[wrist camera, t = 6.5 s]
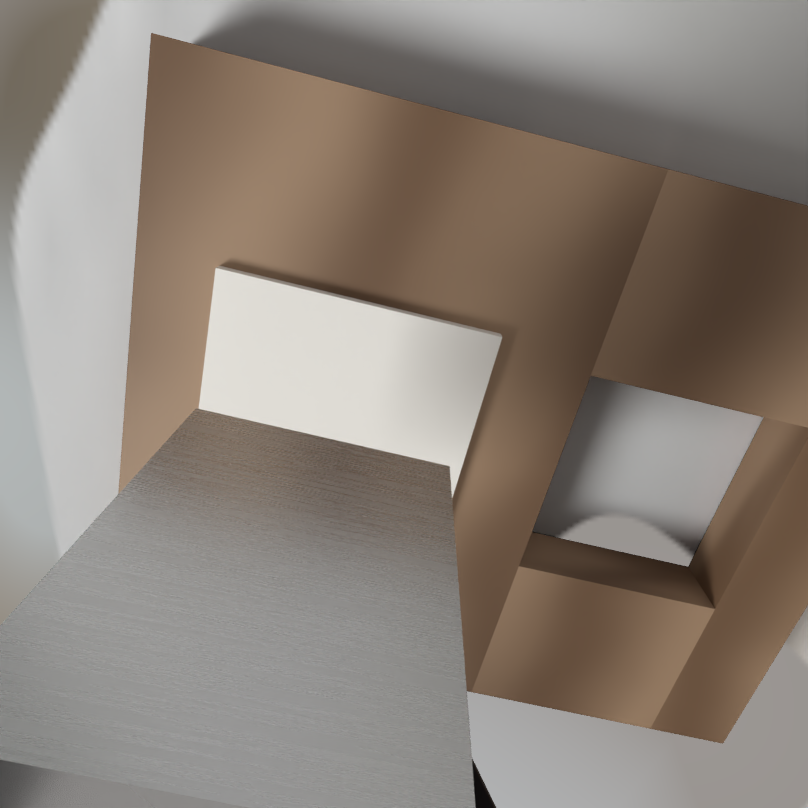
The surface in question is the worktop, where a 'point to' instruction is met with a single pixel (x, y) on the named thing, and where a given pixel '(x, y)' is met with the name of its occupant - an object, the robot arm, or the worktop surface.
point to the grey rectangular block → (246, 636)
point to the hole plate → (484, 355)
